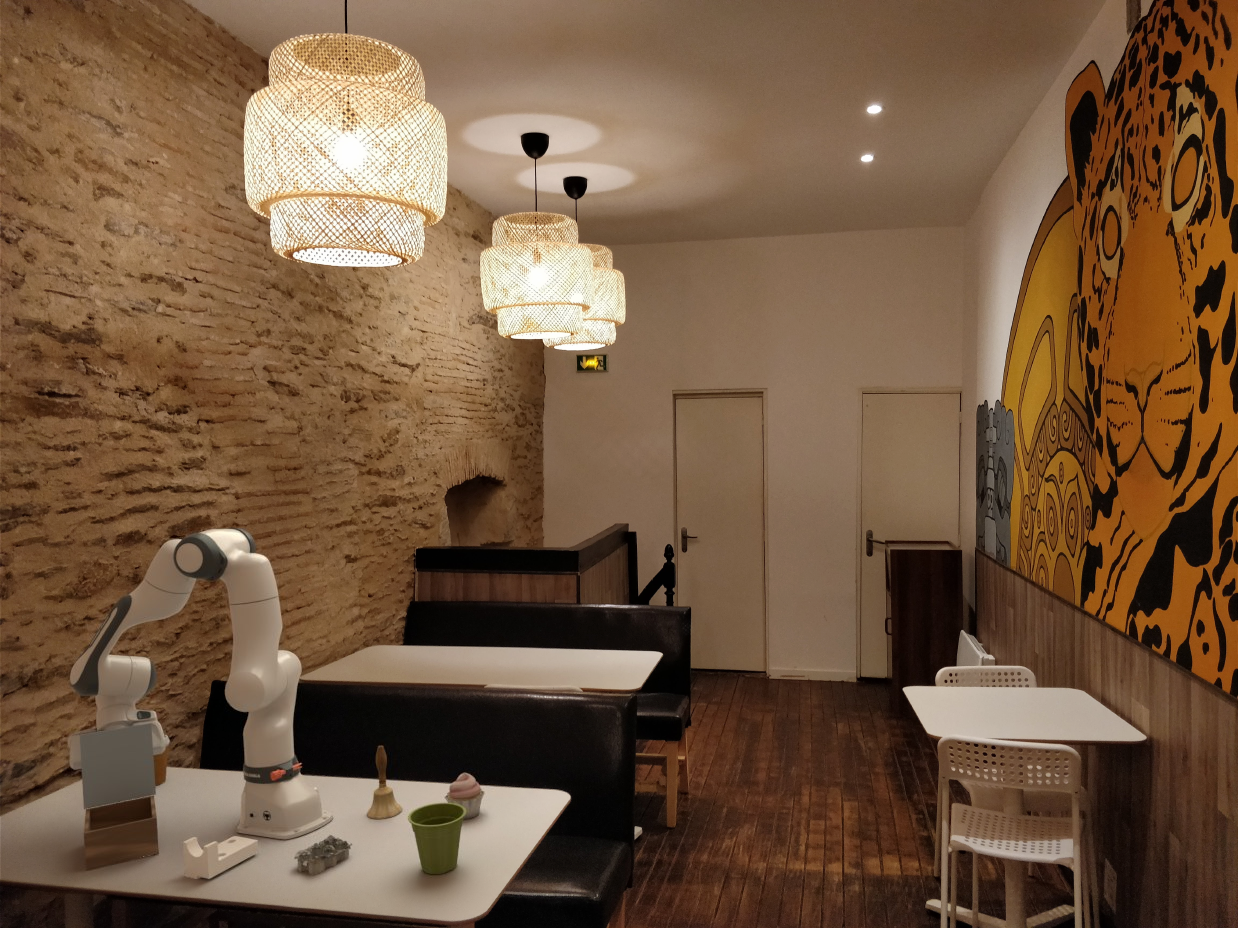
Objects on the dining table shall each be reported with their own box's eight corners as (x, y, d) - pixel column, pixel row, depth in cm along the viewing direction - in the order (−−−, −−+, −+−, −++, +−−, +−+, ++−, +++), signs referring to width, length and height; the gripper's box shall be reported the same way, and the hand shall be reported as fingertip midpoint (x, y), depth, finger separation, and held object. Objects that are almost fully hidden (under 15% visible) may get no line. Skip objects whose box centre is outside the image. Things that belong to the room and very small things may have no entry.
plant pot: (417, 885, 183) (414, 829, 182) (405, 862, 194) (403, 809, 193) (475, 872, 187) (472, 817, 187) (461, 849, 198) (458, 797, 198)
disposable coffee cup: (179, 779, 251) (176, 736, 250) (145, 791, 243) (142, 746, 242) (159, 774, 256) (156, 731, 256) (125, 786, 248) (122, 741, 247)
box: (88, 843, 211) (85, 808, 211) (156, 828, 218) (154, 795, 218) (86, 870, 197) (83, 833, 197) (158, 853, 204) (156, 817, 204)
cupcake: (459, 825, 211) (457, 782, 211) (438, 814, 218) (436, 773, 218) (493, 813, 217) (491, 771, 217) (472, 803, 224) (470, 762, 224)
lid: (83, 808, 211) (84, 808, 212) (155, 794, 218) (155, 793, 219) (79, 735, 213) (79, 734, 214) (151, 723, 220) (151, 722, 221)
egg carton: (314, 878, 189) (313, 858, 189) (291, 870, 193) (290, 850, 193) (355, 856, 198) (354, 838, 198) (332, 849, 202) (331, 831, 202)
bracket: (209, 883, 189) (207, 846, 189) (185, 877, 192) (183, 841, 192) (258, 856, 201) (256, 821, 200) (235, 851, 204) (233, 817, 204)
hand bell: (359, 814, 220) (355, 748, 220) (387, 802, 227) (383, 738, 227) (381, 821, 215) (377, 754, 215) (409, 809, 222) (405, 744, 222)
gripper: (66, 726, 218) (67, 779, 210) (162, 710, 228) (167, 760, 219) (68, 739, 222) (69, 792, 214) (163, 723, 232) (167, 773, 223)
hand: (119, 776), depth 217 cm, fingers closed, pressing on lid
